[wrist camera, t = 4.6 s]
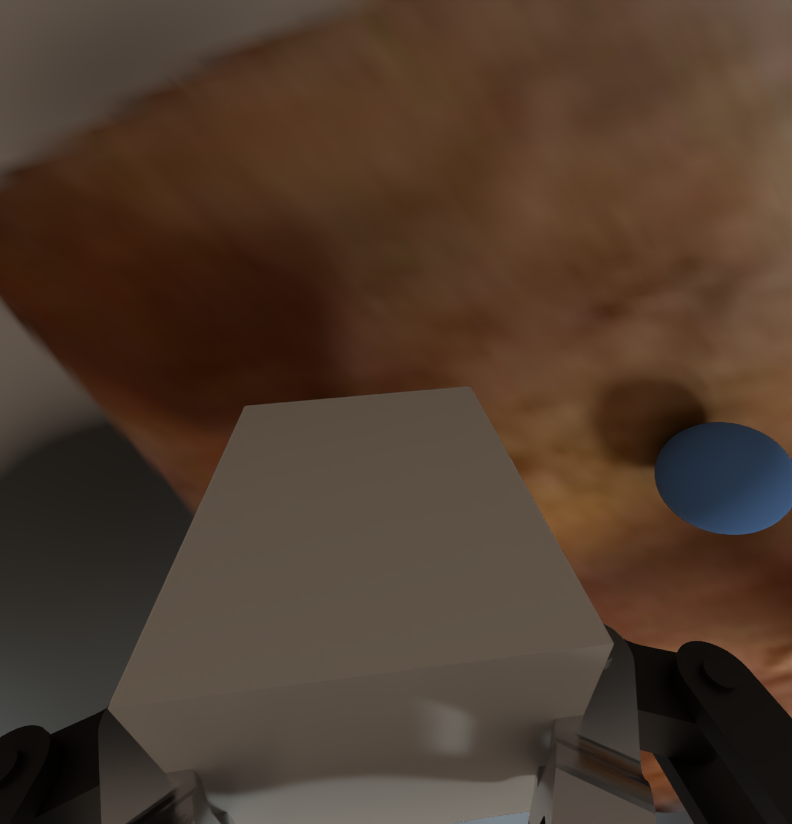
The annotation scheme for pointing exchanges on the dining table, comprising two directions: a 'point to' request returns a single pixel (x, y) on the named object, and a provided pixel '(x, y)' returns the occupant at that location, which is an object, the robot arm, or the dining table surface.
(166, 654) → the block
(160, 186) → the dining table surface
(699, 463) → the blue egg
